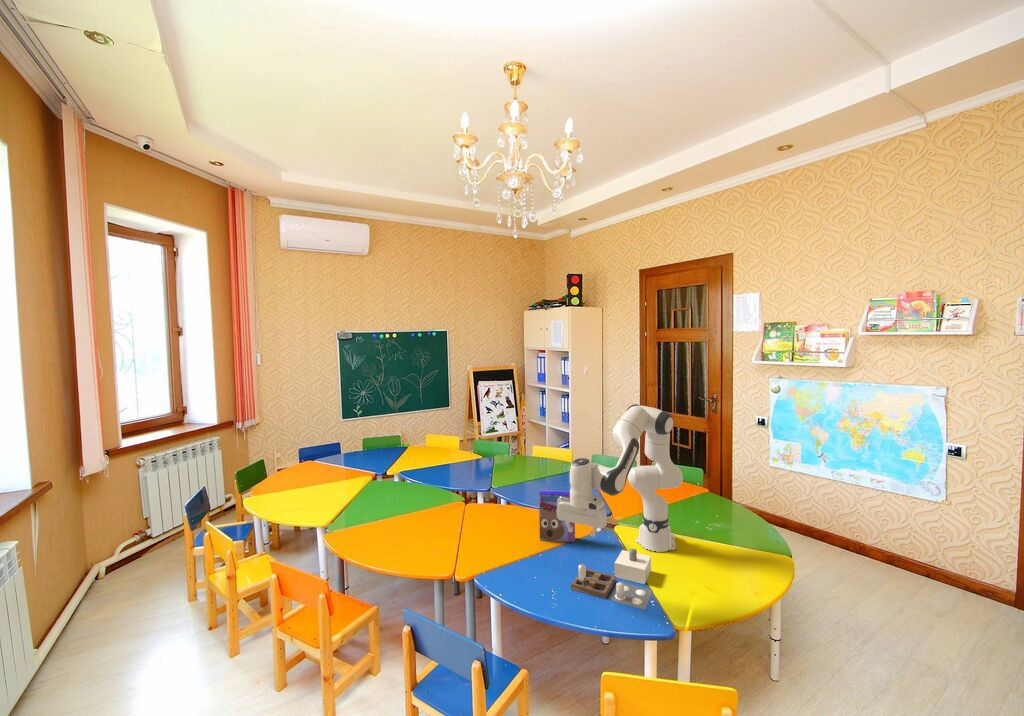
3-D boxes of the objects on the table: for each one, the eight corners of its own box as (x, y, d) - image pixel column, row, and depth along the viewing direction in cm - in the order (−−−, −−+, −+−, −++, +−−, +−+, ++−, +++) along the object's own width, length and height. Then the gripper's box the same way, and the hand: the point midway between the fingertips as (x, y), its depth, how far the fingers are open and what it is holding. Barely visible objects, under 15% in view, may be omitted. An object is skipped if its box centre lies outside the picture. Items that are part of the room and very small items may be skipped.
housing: (622, 565, 196) (622, 541, 195) (651, 572, 190) (651, 547, 189) (614, 579, 185) (614, 553, 184) (644, 586, 179) (644, 560, 178)
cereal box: (539, 540, 221) (539, 493, 220) (540, 536, 226) (539, 490, 225) (574, 542, 219) (574, 494, 218) (574, 537, 223) (574, 491, 222)
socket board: (583, 574, 189) (583, 568, 188) (615, 583, 182) (615, 576, 182) (571, 591, 176) (571, 584, 176) (605, 601, 170) (605, 593, 169)
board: (617, 583, 181) (617, 569, 181) (652, 592, 175) (652, 578, 174) (607, 602, 169) (607, 586, 169) (645, 612, 162) (645, 596, 162)
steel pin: (580, 586, 180) (580, 562, 179) (587, 589, 178) (587, 564, 178) (577, 590, 177) (577, 566, 177) (584, 592, 176) (583, 568, 175)
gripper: (553, 498, 178) (554, 531, 179) (603, 507, 168) (603, 542, 169) (560, 493, 184) (560, 525, 185) (608, 501, 174) (608, 535, 175)
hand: (581, 533), depth 177 cm, fingers open, 8 cm apart
